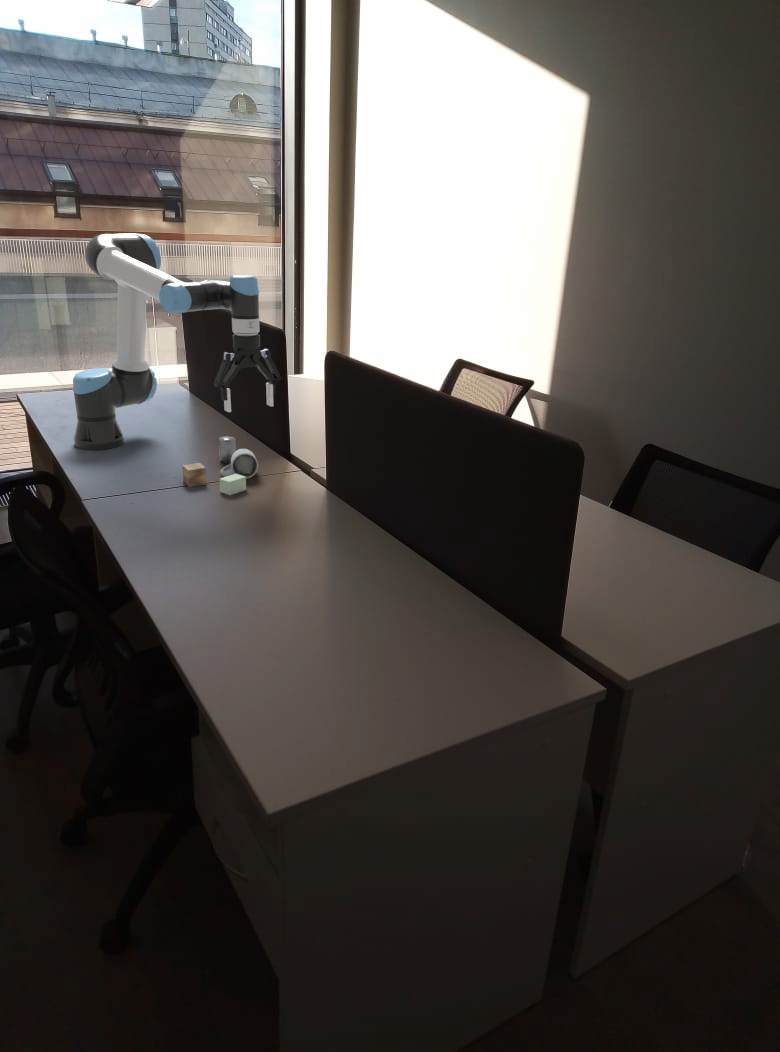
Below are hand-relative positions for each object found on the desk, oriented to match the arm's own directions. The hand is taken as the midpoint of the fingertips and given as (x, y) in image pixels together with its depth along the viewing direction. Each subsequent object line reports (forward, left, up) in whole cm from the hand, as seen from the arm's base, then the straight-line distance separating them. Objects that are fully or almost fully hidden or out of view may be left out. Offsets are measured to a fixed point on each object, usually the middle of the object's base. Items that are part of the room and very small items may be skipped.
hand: (249, 408), depth 222 cm
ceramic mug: (-5, -2, -19) cm, 20 cm away
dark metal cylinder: (-2, +13, -19) cm, 23 cm away
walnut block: (-18, -2, -19) cm, 27 cm away
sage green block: (-11, -13, -19) cm, 26 cm away
